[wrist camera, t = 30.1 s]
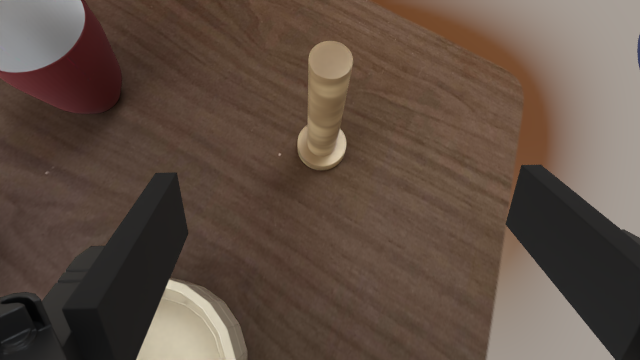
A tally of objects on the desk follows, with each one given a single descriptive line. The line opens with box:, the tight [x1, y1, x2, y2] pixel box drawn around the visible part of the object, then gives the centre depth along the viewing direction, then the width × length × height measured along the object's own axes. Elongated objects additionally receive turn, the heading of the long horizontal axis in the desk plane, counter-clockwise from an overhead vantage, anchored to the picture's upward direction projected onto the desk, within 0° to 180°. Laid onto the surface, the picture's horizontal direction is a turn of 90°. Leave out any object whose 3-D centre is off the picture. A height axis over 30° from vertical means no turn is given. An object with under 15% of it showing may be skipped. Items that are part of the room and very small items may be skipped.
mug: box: [0, 0, 122, 114], centre depth 33 cm, size 11×8×10 cm
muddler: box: [297, 41, 353, 170], centre depth 30 cm, size 4×4×14 cm
